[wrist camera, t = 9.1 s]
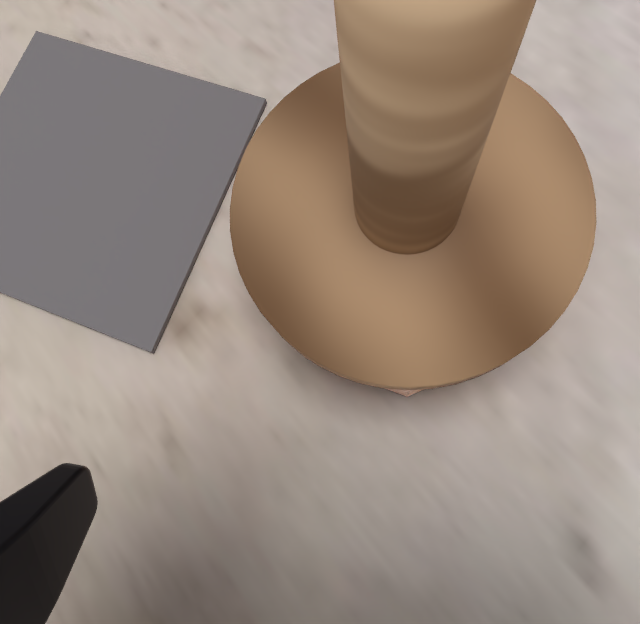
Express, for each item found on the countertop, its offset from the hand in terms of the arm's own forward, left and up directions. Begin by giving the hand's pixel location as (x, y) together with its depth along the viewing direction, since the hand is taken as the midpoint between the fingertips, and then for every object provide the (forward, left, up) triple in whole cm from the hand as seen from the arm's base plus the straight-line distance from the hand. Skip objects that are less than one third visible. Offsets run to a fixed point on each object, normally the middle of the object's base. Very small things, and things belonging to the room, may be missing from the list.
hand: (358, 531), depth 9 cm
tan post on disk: (+8, +2, -8) cm, 12 cm away
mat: (+7, +16, -12) cm, 21 cm away
